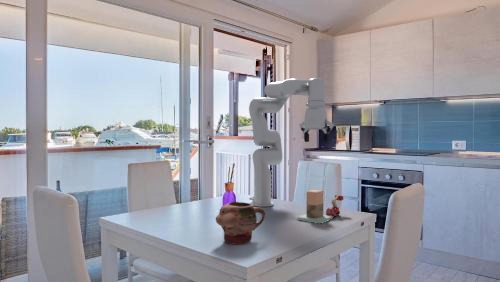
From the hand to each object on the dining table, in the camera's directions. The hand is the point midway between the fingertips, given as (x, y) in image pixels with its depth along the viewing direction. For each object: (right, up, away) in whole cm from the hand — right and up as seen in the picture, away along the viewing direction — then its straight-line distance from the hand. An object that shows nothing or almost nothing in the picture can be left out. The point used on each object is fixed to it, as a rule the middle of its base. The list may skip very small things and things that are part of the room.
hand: (315, 142), depth 173 cm
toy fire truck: (+11, -37, +9) cm, 39 cm away
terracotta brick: (0, -29, +1) cm, 29 cm away
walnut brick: (0, -35, +1) cm, 35 cm away
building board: (0, -36, +1) cm, 36 cm away
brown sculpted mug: (-34, -37, -34) cm, 61 cm away
